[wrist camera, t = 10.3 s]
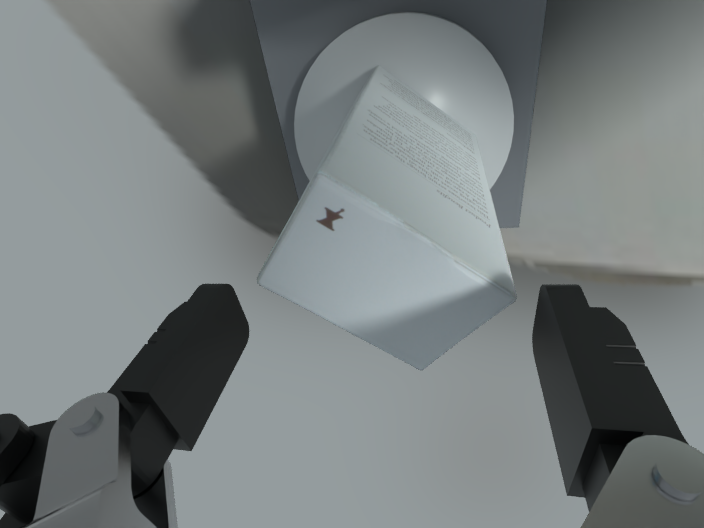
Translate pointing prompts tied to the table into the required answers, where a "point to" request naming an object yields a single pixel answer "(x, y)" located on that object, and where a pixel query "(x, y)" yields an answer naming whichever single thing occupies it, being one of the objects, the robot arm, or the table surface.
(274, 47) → the dial scale
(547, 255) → the table surface
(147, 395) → the robot arm
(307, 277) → the skincare box
